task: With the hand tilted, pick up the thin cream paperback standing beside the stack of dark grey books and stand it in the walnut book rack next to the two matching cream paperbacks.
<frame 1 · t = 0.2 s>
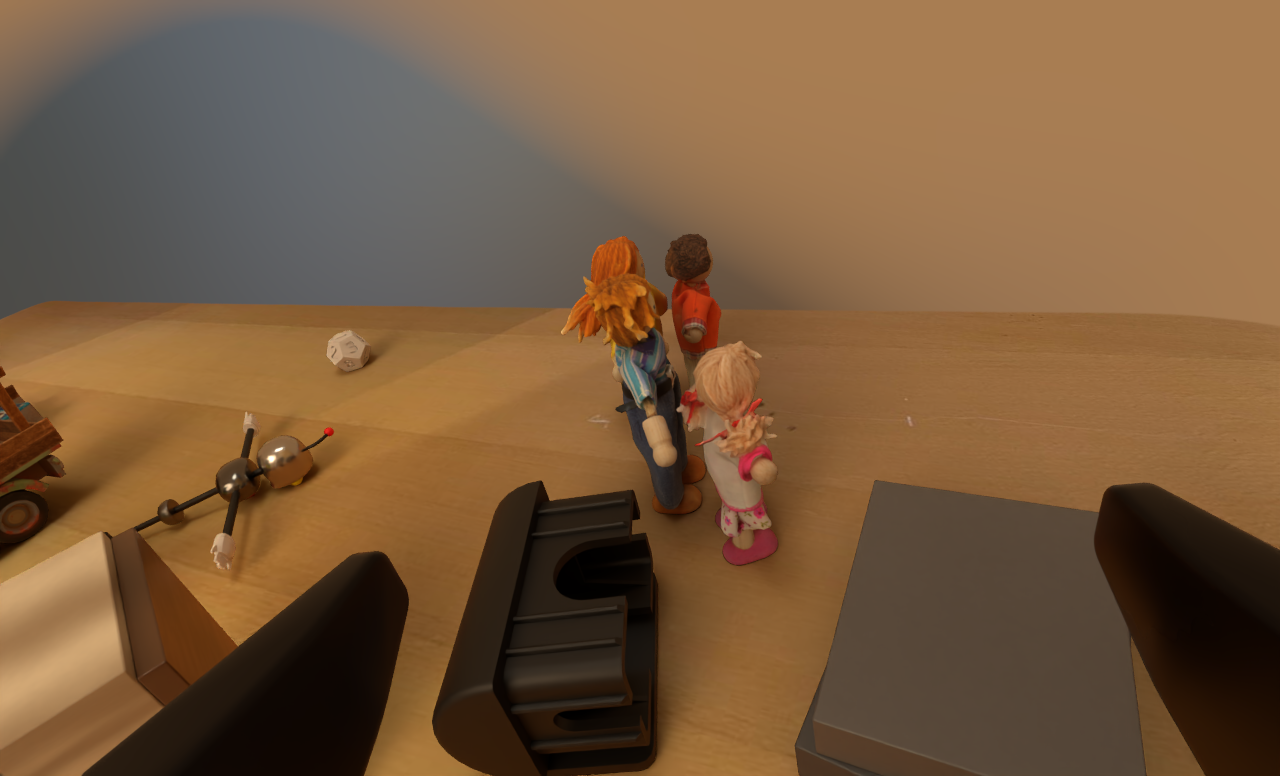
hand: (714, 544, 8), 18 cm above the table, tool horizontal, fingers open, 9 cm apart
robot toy: (230, 507, 44), on the table
grey books: (970, 680, 24), on the table
doll family: (675, 466, 38), on the table
end cap: (578, 671, 28), on the table
game die: (357, 366, 59), on the table
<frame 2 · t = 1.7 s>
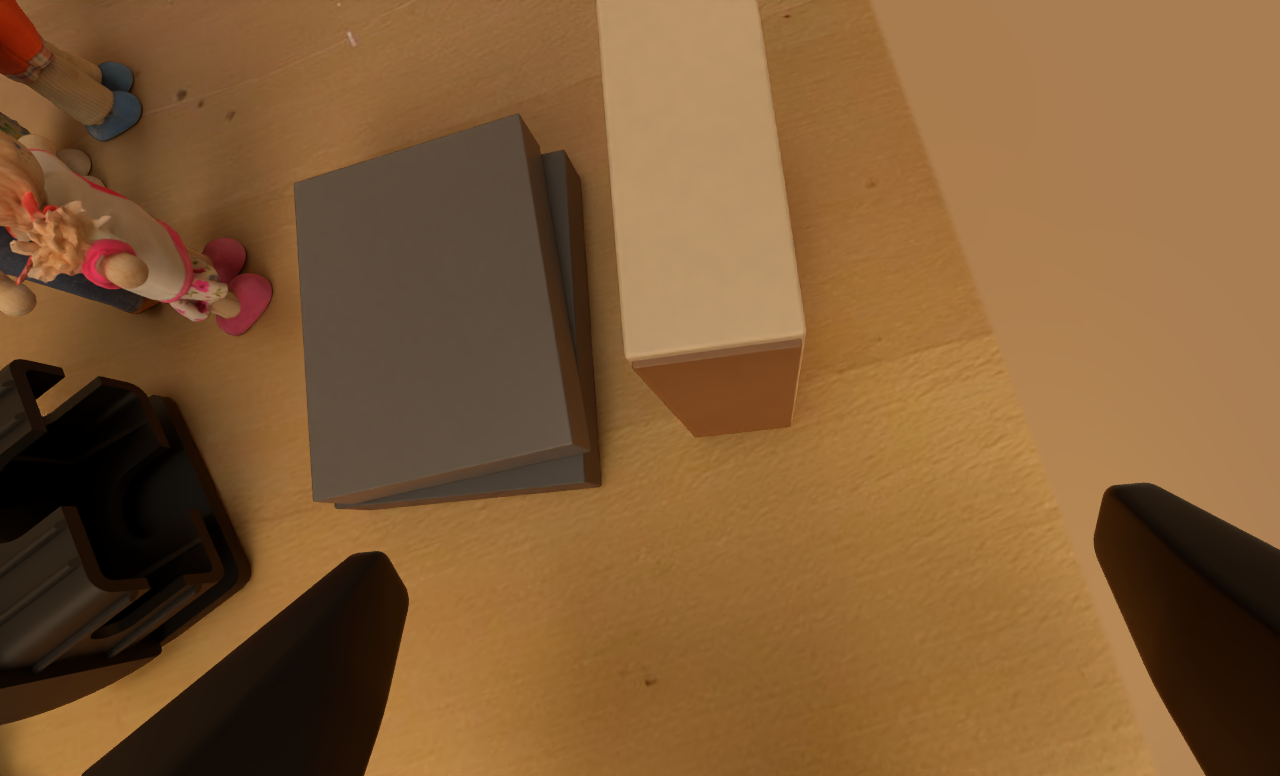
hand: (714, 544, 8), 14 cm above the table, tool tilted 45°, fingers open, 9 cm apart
grey books: (477, 340, 25), on the table
cream book: (726, 304, 23), on the table
doll family: (127, 239, 30), on the table
end cap: (148, 532, 26), on the table
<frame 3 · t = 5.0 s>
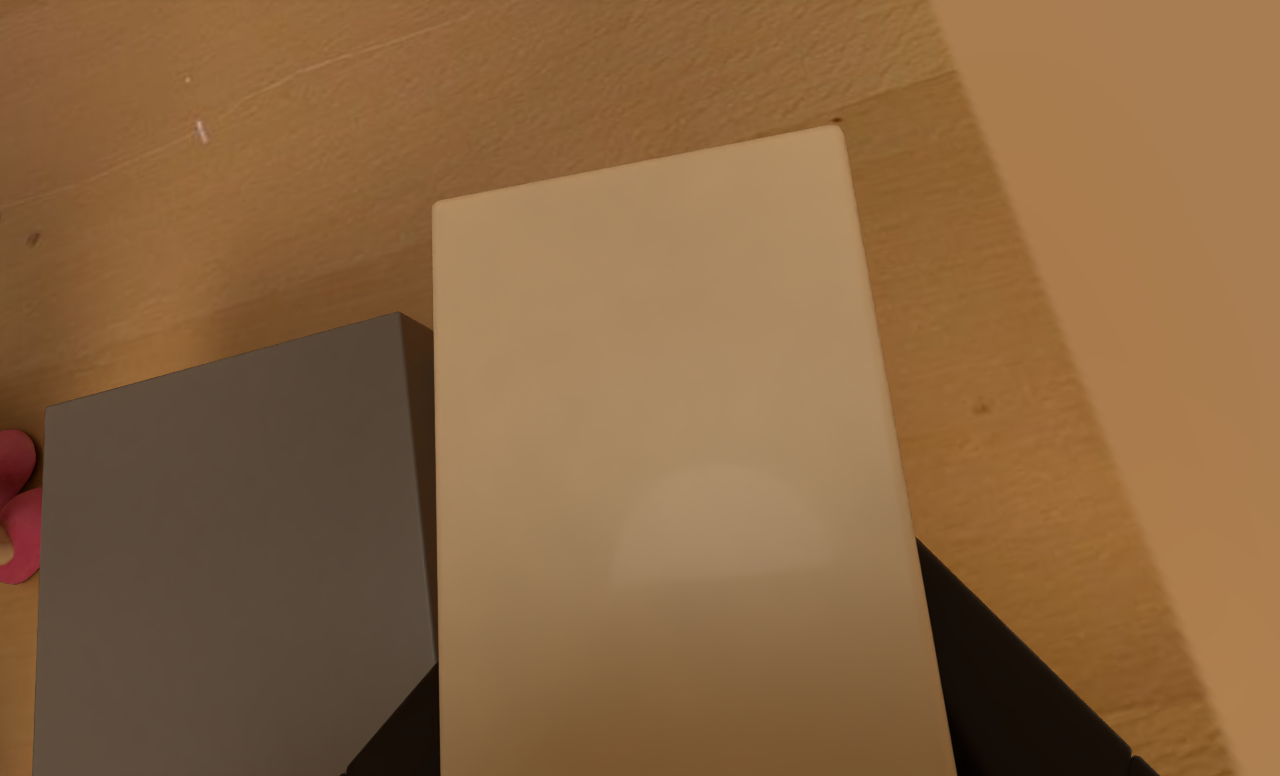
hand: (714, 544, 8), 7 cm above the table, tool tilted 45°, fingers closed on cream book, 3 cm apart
grey books: (357, 625, 16), on the table
cream book: (747, 600, 14), on the table, touching gripper
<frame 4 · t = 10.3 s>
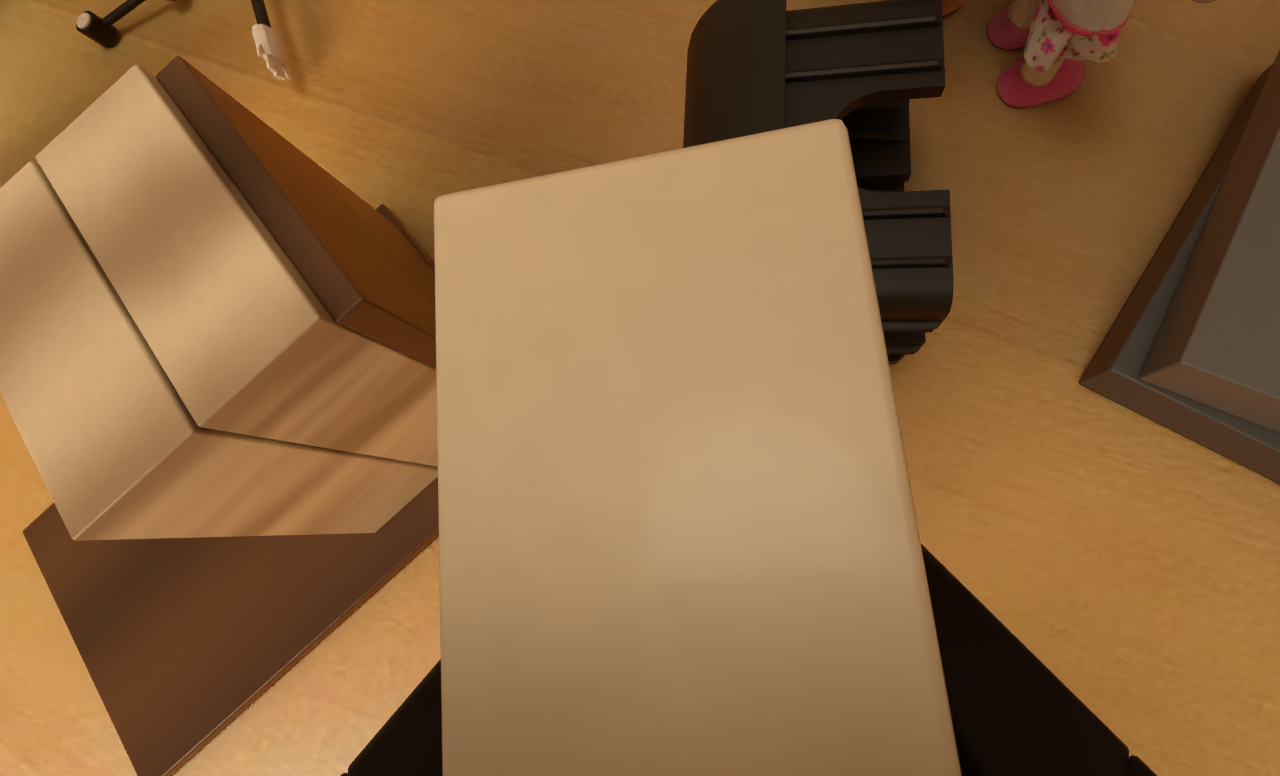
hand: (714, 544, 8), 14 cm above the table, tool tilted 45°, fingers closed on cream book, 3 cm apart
book rack: (282, 480, 25), on the table
cream book: (748, 598, 14), point 7 cm above the table, touching gripper
end cap: (795, 244, 23), on the table
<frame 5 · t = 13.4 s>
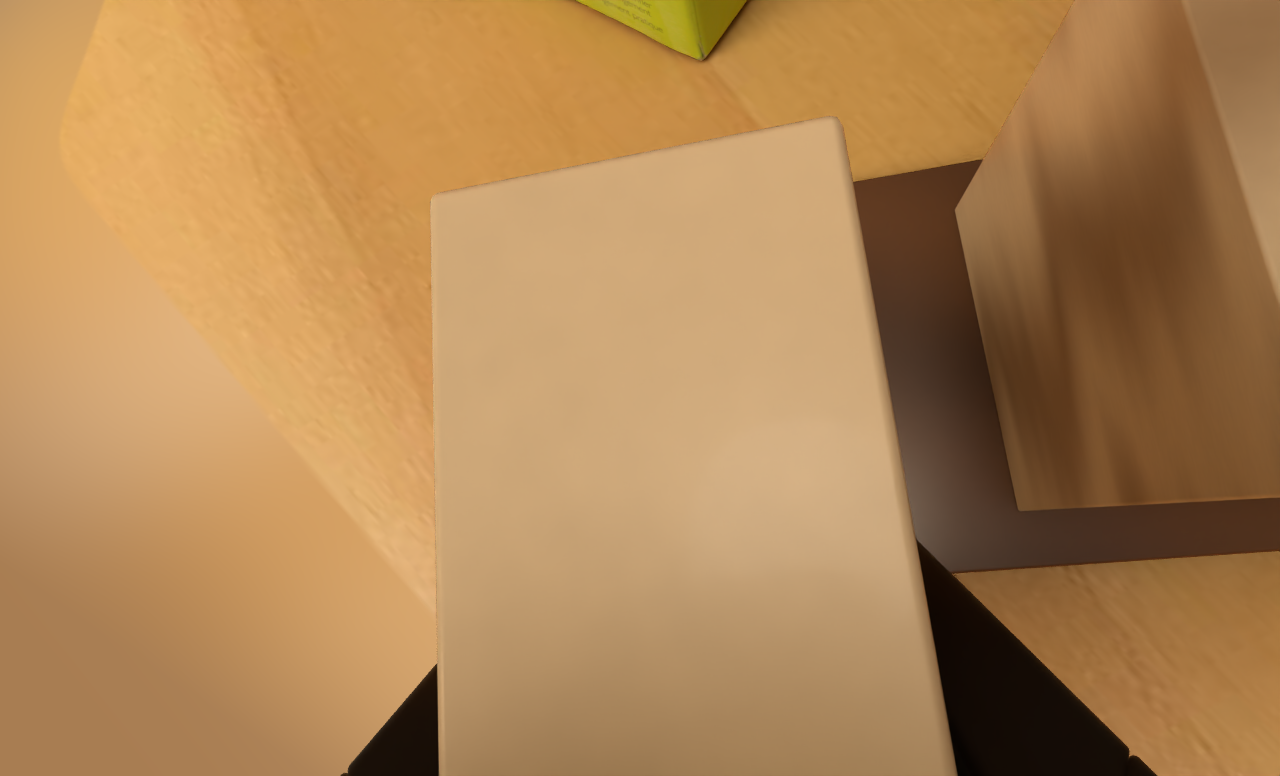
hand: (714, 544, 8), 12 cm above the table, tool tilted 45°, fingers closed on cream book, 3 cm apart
book rack: (899, 367, 20), on the table
cream book: (747, 597, 14), point 5 cm above the table, touching gripper
when the fingers open (7 cm above the table, at t = 15.9 s): cream book stays where it is, resting on book rack.
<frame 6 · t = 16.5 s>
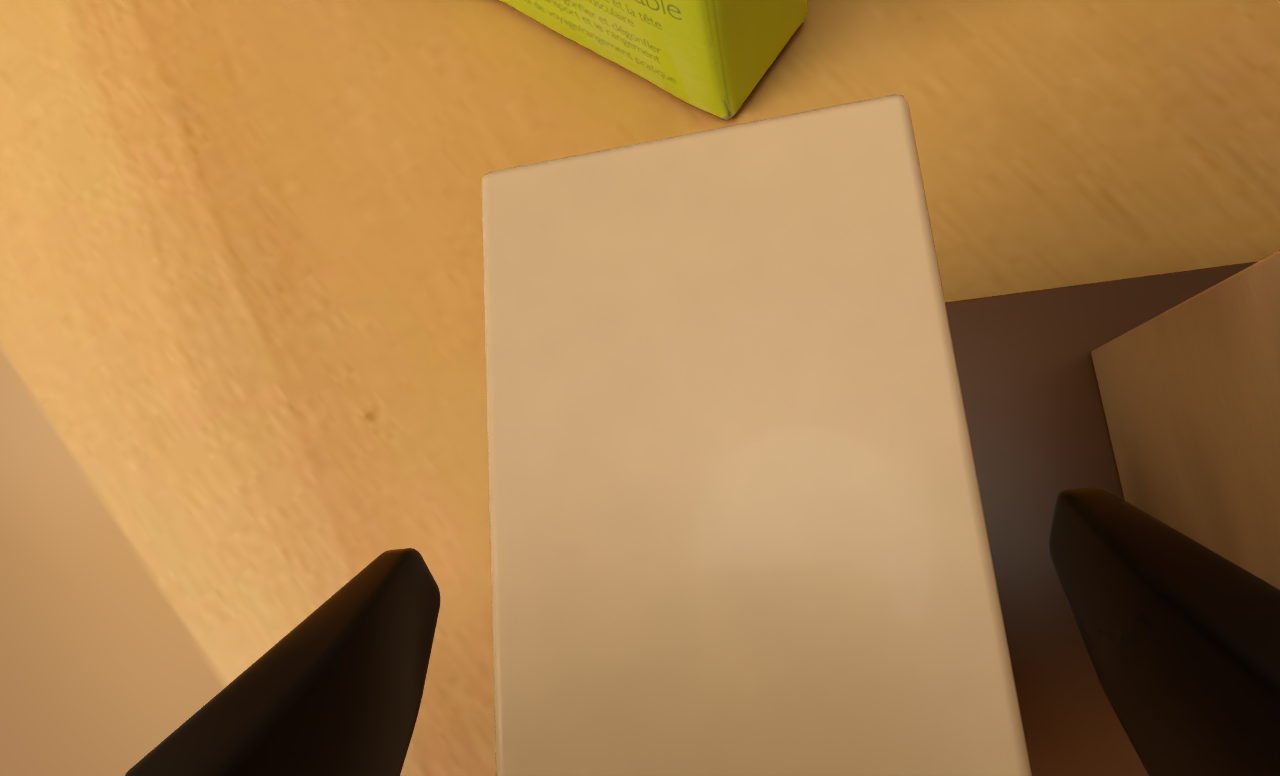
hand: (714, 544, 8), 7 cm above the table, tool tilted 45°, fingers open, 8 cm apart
book rack: (1008, 574, 14), on the table
cream book: (769, 589, 14), point 1 cm above the table, touching book rack
box: (618, 6, 19), on the table
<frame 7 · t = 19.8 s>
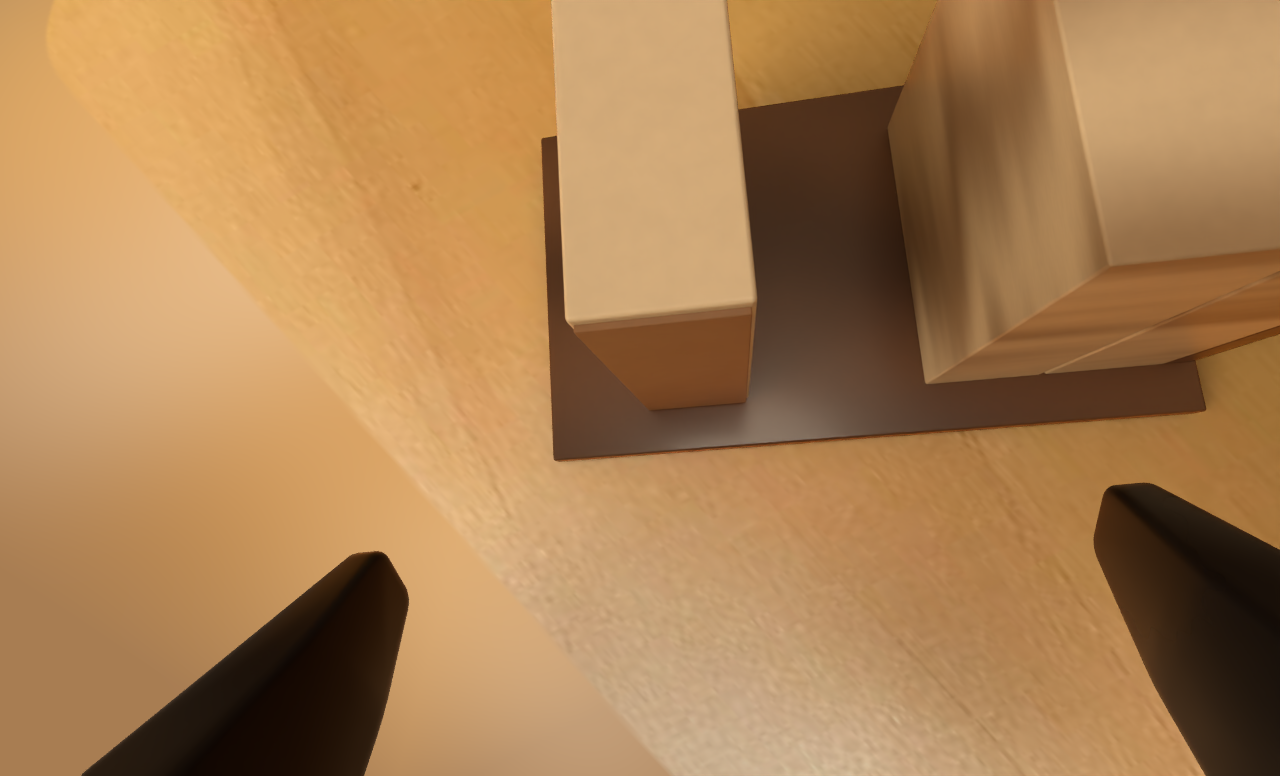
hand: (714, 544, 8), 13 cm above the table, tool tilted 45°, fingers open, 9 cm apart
book rack: (833, 265, 22), on the table
cream book: (686, 274, 22), point 1 cm above the table, touching book rack
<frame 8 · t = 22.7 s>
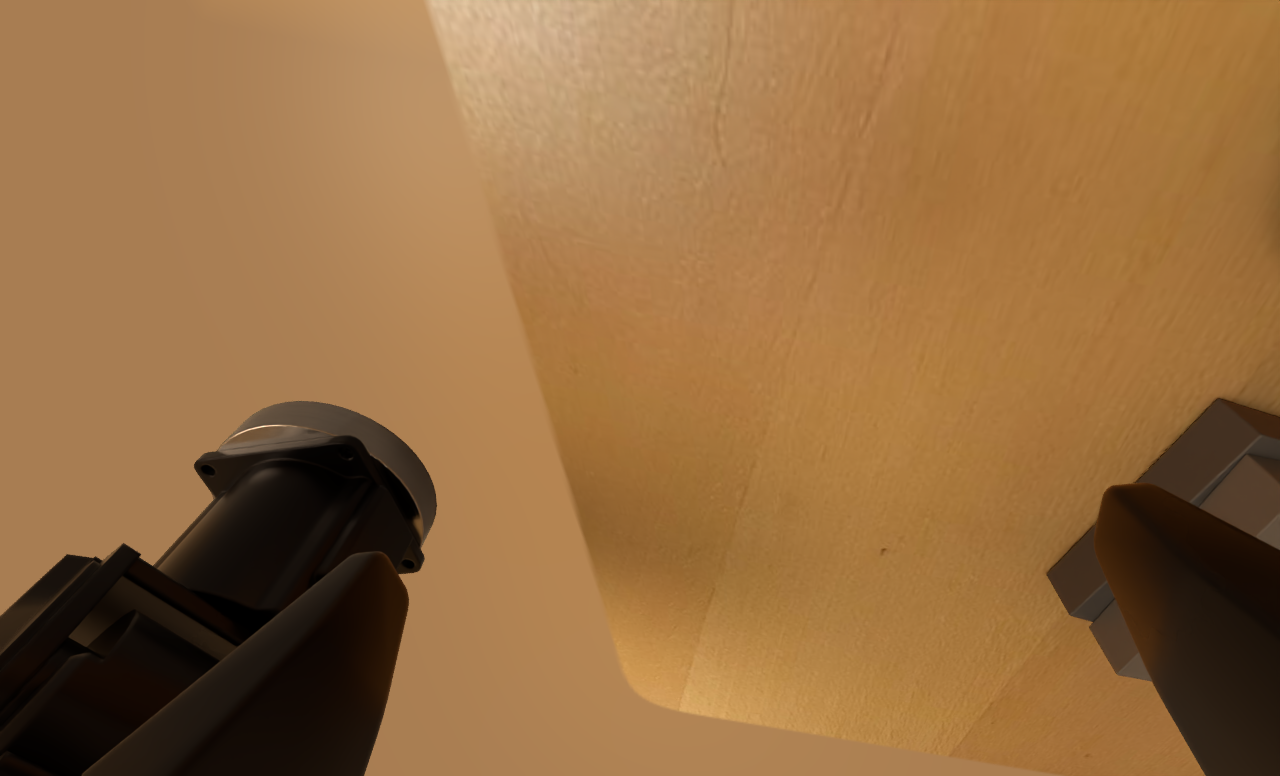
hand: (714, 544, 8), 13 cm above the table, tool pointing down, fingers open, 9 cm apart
grey books: (1267, 537, 24), on the table
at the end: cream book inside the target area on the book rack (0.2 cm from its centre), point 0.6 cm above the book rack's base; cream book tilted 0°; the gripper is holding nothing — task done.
